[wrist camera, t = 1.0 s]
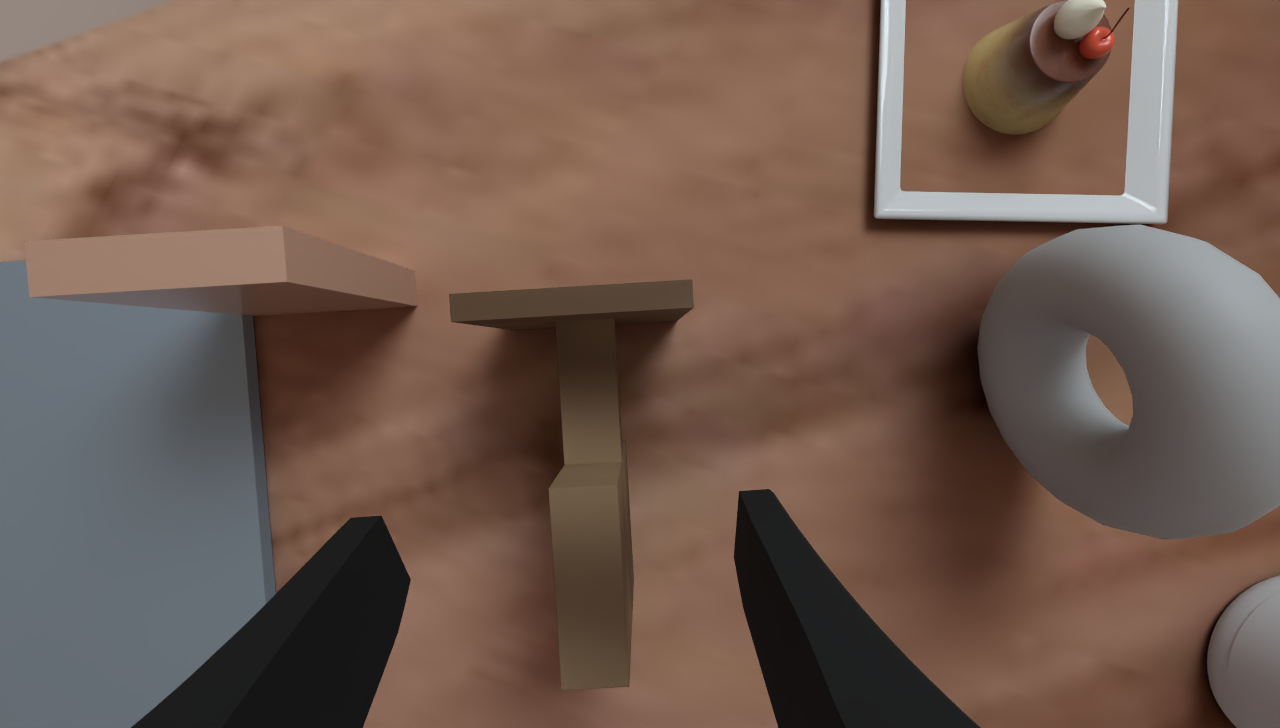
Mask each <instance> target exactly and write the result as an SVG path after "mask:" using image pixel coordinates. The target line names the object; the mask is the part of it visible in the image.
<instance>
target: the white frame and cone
mask: <svg viewBox="0 0 1280 728" xmlns="http://www.w3.org/2000/svg"><path fill="white" fill-rule="evenodd" d="M905 8H906V0H881V11H880V42H879V72H878V102H877V133H876V163H875V194H874V217H875V218H877V219H915V220H968V221H1021V222H1075V223H1128V224H1165V223H1166V222H1167V220H1168V200H1169V180H1170V160H1171V140H1172V120H1173V99H1174V79H1175V59H1176V39H1177V19H1178V0H1135V11H1134V29H1133V48H1132V66H1131V85H1130V104H1129V122H1128V141H1127V159H1126V178H1125V192H1124V194H1123V195H1120V196H1109V195H1057V194H1004V193H951V192H904V191H902V190H901V188H900V167H901V135H902V103H903V71H904V40H905ZM1105 8H1106V5H1105V3H1104V1H1103V0H1060V1H1057V2H1054V3H1052V4H1050V5H1048V6H1046V7H1043V8H1041V9H1039V10H1037V11H1035V12H1032V13H1030V14H1028V15H1026V16H1024V17H1022V18H1020V19H1018V20H1016V21H1014V22H1012V23H1009V24H1007V25H1005V26H1003V27H1000V28H998V29H995V30H993V31H991V32H990V33H988V34H987V35H985V36H984V37H983V38H982V39H981V40H980V41H979V42H978V43H977V44H976V45H975V46H974V47H973V49H972V50H971V52H970V54H969V56H968V58H967V60H966V63H965V66H964V70H963V91H964V96H965V99H966V102H967V104H968V106H969V108H970V109H971V111H972V112H973V114H974V115H975V116H976V117H977V118H978V120H980V121H981V122H982V123H983V124H984V125H986V126H987V127H989V128H991V129H993V130H995V131H998V132H1001V133H1005V134H1013V135H1018V134H1026V133H1030V132H1033V131H1036V130H1038V129H1040V128H1042V127H1044V126H1046V125H1047V124H1048V123H1050V122H1051V121H1052V120H1053V119H1054V118H1055V117H1056V116H1057V115H1058V114H1059V113H1060V111H1061V110H1062V109H1063V108H1064V107H1065V106H1066V105H1067V104H1068V103H1069V102H1070V101H1071V100H1072V99H1073V98H1074V97H1075V96H1076V95H1077V94H1078V93H1079V92H1080V91H1081V90H1082V89H1083V87H1084V86H1085V85H1086V84H1087V83H1088V82H1089V81H1090V80H1091V79H1092V78H1093V77H1094V76H1095V75H1096V74H1097V73H1098V72H1099V70H1100V69H1101V68H1102V67H1103V66H1104V64H1105V63H1106V61H1107V59H1108V57H1109V55H1110V52H1111V49H1112V48H1113V46H1114V43H1115V37H1114V34H1113V33H1112V32H1113V31H1114V29H1115V28H1116V26H1117V25H1118V23H1119V22H1120V20H1121V19H1122V18H1123V16H1124V15H1125V14H1126V12H1127V11H1128V10H1129V8H1128V9H1127V10H1126V11H1125V12H1124V14H1123V15H1122V16H1121V18H1120V19H1119V21H1118V22H1117V23H1116V25H1115V26H1114V28H1113V29H1112V31H1111V27H1110V24H1109V22H1108V20H1107V18H1106V17H1105V15H1104V9H1105Z"/></svg>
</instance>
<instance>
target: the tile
mask: <svg viewBox="0 0 1280 728" xmlns="http://www.w3.org/2000/svg"><path fill="white" fill-rule="evenodd" d="M24 244H25V255H26V266H27V276H28V287H29V297H34V298H46V299H58V300H70V301H82V302H94V303H106V304H118V305H130V306H142V307H154V308H166V309H178V310H190V311H201V312H213V313H225V314H237V315H249V316H260V315H277V314H294V313H311V312H328V311H345V310H361V309H378V308H395V307H412V306H417V294H416V280H415V271H414V270H411V269H408V268H405V267H402V266H399V265H396V264H394V263H391V262H388V261H385V260H382V259H379V258H376V257H373V256H370V255H367V254H364V253H361V252H358V251H355V250H352V249H349V248H347V247H344V246H341V245H338V244H335V243H332V242H329V241H326V240H323V239H320V238H317V237H314V236H311V235H308V234H305V233H303V232H300V231H297V230H294V229H291V228H288V227H285V226H270V227H253V228H237V229H220V230H203V231H187V232H170V233H154V234H137V235H121V236H104V237H87V238H71V239H54V240H38V241H24Z"/></svg>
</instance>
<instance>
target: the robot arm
mask: <svg viewBox="0 0 1280 728" xmlns="http://www.w3.org/2000/svg"><path fill="white" fill-rule="evenodd" d="M734 560H735V566H736V571H737V577H738V582H739V588H740V593H741V598H742V603H743V608H744V612H745V615H746V619H747V622H748V626H749V629H750V632H751V636H752V639H753V643H754V646H755V650H756V653H757V656H758V660H759V663H760V667H761V670H762V673H763V677H764V680H765V684H766V687H767V690H768V694H769V697H770V701H771V704H772V707H773V711H774V714H775V718H776V721H777V724H778V728H980V727H979V726H978V725H977V724H976V723H975V722H974V721H972V720H971V719H970V718H969V717H968V716H967V715H966V714H965V713H964V712H963V711H962V710H961V709H960V708H958V707H957V706H956V705H955V704H954V703H953V702H952V701H951V700H950V699H949V698H948V697H947V696H946V695H945V694H944V693H943V692H942V691H941V690H940V689H939V688H938V687H936V686H935V685H934V684H933V683H932V682H931V681H930V680H929V679H928V678H927V677H926V676H925V675H924V674H923V673H922V672H921V671H920V670H919V669H918V668H917V667H916V666H915V665H914V664H913V663H912V662H911V661H910V660H909V659H908V658H907V657H906V656H905V654H904V653H903V652H902V651H901V650H900V649H899V648H898V647H897V646H896V645H895V644H894V643H893V642H892V641H891V640H890V639H889V638H888V636H887V635H886V634H885V633H884V632H883V631H882V630H881V629H880V628H879V627H878V626H877V624H876V623H875V622H874V621H873V620H872V619H871V618H870V617H869V615H868V614H867V613H866V612H865V611H864V610H863V609H862V608H861V606H860V605H859V604H858V603H857V602H856V601H855V599H854V598H853V597H852V596H851V595H850V594H849V592H848V591H847V590H846V589H845V588H844V586H843V585H842V584H841V583H840V581H839V580H838V579H837V578H836V577H835V575H834V574H833V573H832V572H831V570H830V569H829V568H828V567H827V565H826V564H825V563H824V562H823V561H822V559H821V558H820V557H819V555H818V554H817V553H816V552H815V550H814V549H813V548H812V546H811V545H810V544H809V542H808V541H807V540H806V538H805V537H804V536H803V534H802V533H801V532H800V530H799V529H798V527H797V526H796V525H795V523H794V522H793V520H792V519H791V518H790V516H789V515H788V513H787V512H786V510H785V509H784V507H783V506H782V505H781V503H780V502H779V500H778V499H777V497H776V496H775V494H774V493H773V492H772V491H771V490H770V489H765V490H750V491H739V500H738V512H737V525H736V537H735V550H734ZM410 580H411V579H410V577H409V575H408V573H407V571H406V568H405V566H404V564H403V562H402V560H401V557H400V555H399V553H398V551H397V549H396V546H395V544H394V542H393V540H392V538H391V536H390V533H389V531H388V529H387V527H386V525H385V522H384V520H383V518H382V516H371V517H356V518H350V519H349V520H348V521H347V522H346V523H345V524H344V525H343V526H342V527H341V528H340V529H339V530H338V531H337V532H336V533H335V534H334V535H333V536H332V537H331V538H330V539H329V540H328V541H327V542H326V543H325V544H324V545H323V546H322V548H321V549H320V550H319V551H318V552H317V553H316V554H315V555H314V556H313V557H312V558H311V559H310V560H309V561H308V562H307V563H306V564H305V565H304V566H303V567H302V568H301V569H300V570H299V571H298V572H297V573H296V574H295V575H294V576H293V577H292V578H291V579H290V580H289V581H288V582H287V583H286V584H285V585H284V586H283V587H282V588H281V589H280V590H279V591H278V592H277V593H276V594H275V595H274V596H273V597H272V598H271V599H270V600H269V601H268V602H267V603H266V604H265V605H264V606H263V607H262V608H261V609H260V610H259V611H258V612H257V613H256V614H255V615H254V616H253V617H252V618H251V619H250V620H249V621H248V622H247V623H246V624H245V625H244V626H243V627H242V628H241V629H240V630H239V631H238V632H237V633H236V634H234V635H233V636H232V637H231V638H230V639H229V640H228V641H227V642H226V643H225V644H224V645H223V646H222V647H221V648H220V649H219V650H217V651H216V652H215V653H214V654H213V655H212V656H211V657H210V658H209V659H208V660H207V661H206V662H205V663H204V664H203V665H201V666H200V667H199V668H198V669H197V670H196V671H195V672H194V673H193V674H192V675H191V676H190V677H189V678H188V679H186V680H185V681H184V682H183V683H182V684H181V685H180V686H179V687H177V688H176V689H175V690H174V691H173V692H172V693H171V694H170V695H168V696H167V697H166V698H165V699H164V700H163V701H162V702H160V703H159V704H158V705H157V706H156V707H155V708H153V709H152V710H151V711H150V712H149V713H148V714H146V715H145V716H144V717H143V718H142V719H140V720H139V721H138V722H137V723H136V724H134V725H133V726H132V727H131V728H363V725H364V723H365V720H366V717H367V715H368V712H369V709H370V707H371V704H372V701H373V699H374V696H375V693H376V691H377V688H378V685H379V683H380V680H381V677H382V675H383V672H384V669H385V667H386V664H387V661H388V658H389V656H390V653H391V650H392V648H393V645H394V642H395V639H396V636H397V634H398V630H399V626H400V622H401V619H402V615H403V611H404V607H405V602H406V598H407V594H408V589H409V585H410Z"/></svg>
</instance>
